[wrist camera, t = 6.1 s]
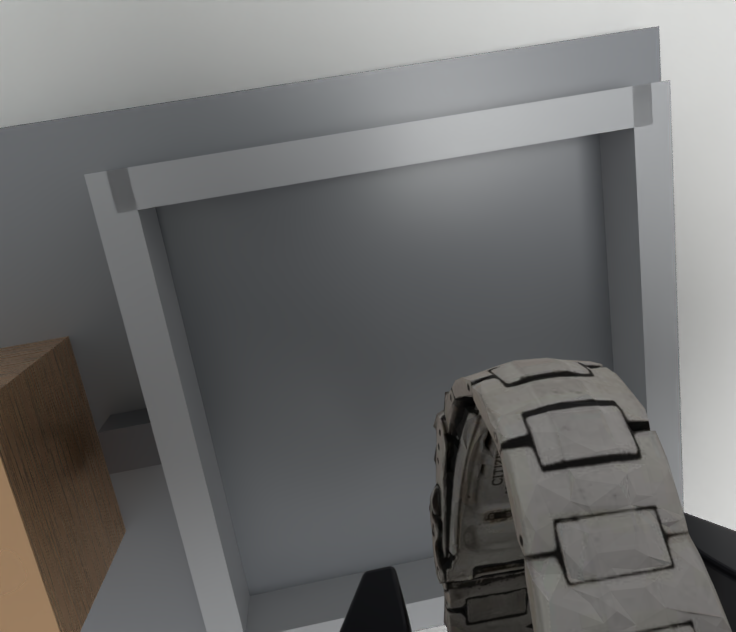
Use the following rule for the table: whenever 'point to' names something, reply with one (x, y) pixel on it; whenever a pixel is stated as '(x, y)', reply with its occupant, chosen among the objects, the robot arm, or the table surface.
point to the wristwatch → (560, 508)
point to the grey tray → (308, 322)
